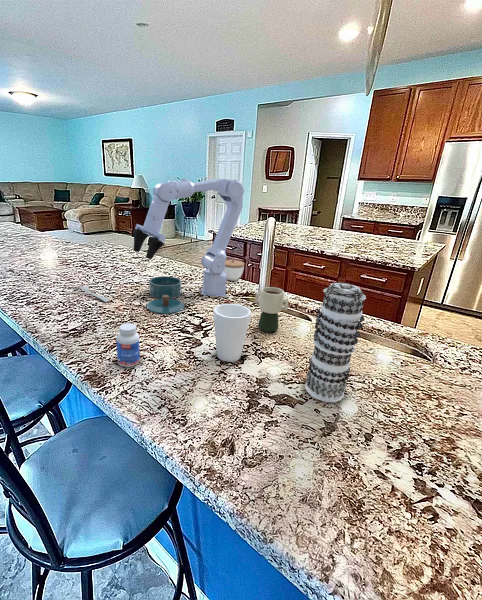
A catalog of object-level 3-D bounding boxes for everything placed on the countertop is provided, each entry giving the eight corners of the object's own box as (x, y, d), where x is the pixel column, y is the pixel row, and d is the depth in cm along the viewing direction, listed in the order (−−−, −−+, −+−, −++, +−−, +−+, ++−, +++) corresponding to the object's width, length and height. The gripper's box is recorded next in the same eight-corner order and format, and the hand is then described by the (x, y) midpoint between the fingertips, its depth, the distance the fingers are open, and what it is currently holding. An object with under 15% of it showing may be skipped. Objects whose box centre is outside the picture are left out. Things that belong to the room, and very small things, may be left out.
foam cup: (249, 350, 88) (254, 307, 84) (242, 368, 80) (246, 320, 75) (217, 344, 91) (219, 301, 86) (206, 360, 83) (208, 314, 78)
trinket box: (241, 283, 145) (243, 262, 142) (218, 280, 147) (219, 260, 143) (244, 276, 155) (245, 257, 151) (222, 274, 157) (223, 255, 153)
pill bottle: (120, 369, 77) (118, 333, 74) (115, 358, 82) (113, 323, 78) (142, 364, 80) (141, 329, 76) (136, 354, 84) (135, 320, 80)
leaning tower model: (341, 409, 67) (368, 298, 58) (298, 393, 72) (316, 287, 63) (349, 387, 75) (374, 285, 66) (309, 374, 79) (327, 276, 70)
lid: (186, 302, 120) (187, 291, 118) (181, 316, 107) (181, 304, 106) (151, 300, 121) (151, 288, 119) (142, 314, 108) (142, 301, 107)
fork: (105, 309, 116) (105, 302, 115) (72, 289, 127) (72, 283, 126) (112, 306, 119) (112, 300, 117) (79, 288, 129) (78, 281, 128)
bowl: (183, 290, 133) (183, 277, 131) (178, 300, 121) (178, 286, 119) (153, 288, 133) (153, 275, 131) (146, 298, 122) (145, 284, 120)
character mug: (288, 330, 102) (294, 291, 97) (279, 338, 96) (284, 298, 91) (257, 320, 107) (261, 283, 103) (247, 327, 102) (251, 289, 97)
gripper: (133, 209, 111) (121, 246, 114) (159, 220, 103) (146, 259, 106) (149, 215, 117) (137, 250, 120) (174, 225, 109) (161, 263, 111)
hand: (142, 254), depth 113 cm, fingers open, 7 cm apart
